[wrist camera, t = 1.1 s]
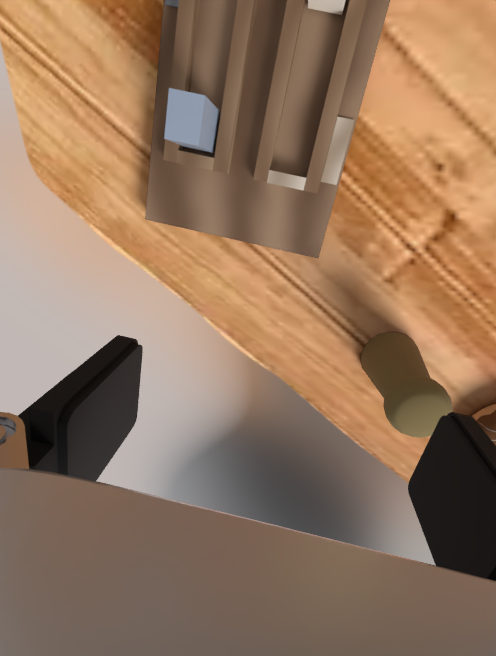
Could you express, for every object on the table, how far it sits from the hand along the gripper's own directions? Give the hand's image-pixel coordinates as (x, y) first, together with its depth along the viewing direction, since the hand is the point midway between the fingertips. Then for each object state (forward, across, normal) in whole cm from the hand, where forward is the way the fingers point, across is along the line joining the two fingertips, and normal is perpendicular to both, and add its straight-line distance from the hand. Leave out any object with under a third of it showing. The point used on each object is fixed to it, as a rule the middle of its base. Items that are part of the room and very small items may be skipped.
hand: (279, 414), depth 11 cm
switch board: (+27, +6, -15) cm, 31 cm away
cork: (+27, -13, +8) cm, 31 cm away
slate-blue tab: (+24, +10, -10) cm, 28 cm away
